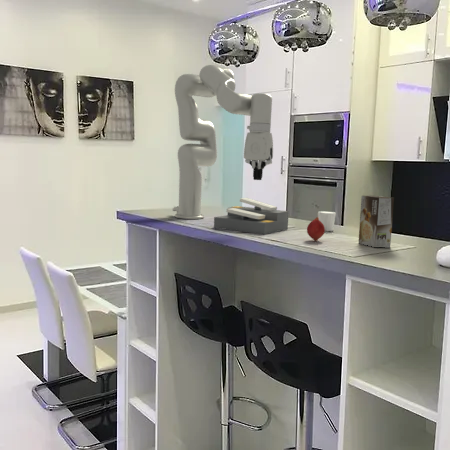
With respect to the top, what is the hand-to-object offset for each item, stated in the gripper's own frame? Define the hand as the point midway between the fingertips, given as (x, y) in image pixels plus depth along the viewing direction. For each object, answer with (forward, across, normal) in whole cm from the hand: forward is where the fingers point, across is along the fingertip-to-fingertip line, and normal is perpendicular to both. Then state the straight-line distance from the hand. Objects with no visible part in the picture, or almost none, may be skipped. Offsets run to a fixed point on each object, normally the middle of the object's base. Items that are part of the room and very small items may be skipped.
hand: (257, 179), depth 185 cm
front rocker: (+13, -4, -1) cm, 14 cm away
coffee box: (+19, +44, +2) cm, 48 cm away
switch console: (+19, -4, +4) cm, 20 cm away
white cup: (+19, +18, +24) cm, 35 cm away
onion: (+19, +26, -4) cm, 33 cm away
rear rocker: (+10, -4, +8) cm, 14 cm away
